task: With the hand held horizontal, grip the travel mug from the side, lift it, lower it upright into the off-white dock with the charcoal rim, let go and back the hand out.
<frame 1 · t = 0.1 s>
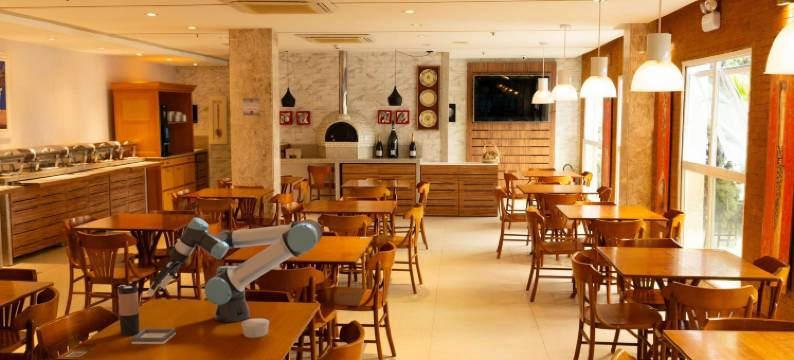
hand: (155, 291, 311), 15 cm above the table, tool tilted 35°, fingers open, 13 cm apart
mug dock: (154, 338, 294), on the table
travel mug: (130, 334, 302), on the table
ramekin: (255, 335, 298), on the table
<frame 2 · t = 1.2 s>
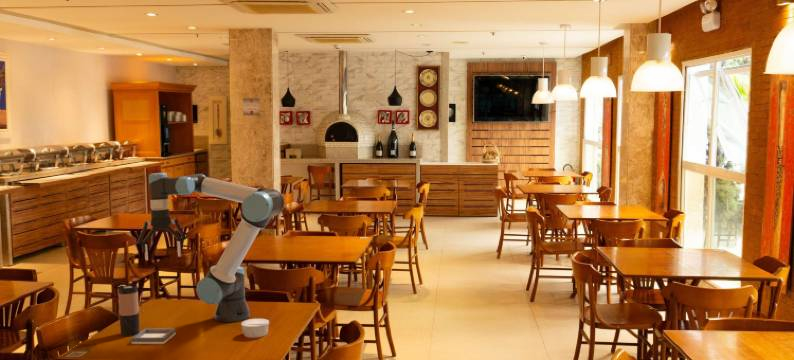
hand: (163, 258, 314), 29 cm above the table, tool pointing down, fingers open, 13 cm apart
nothing on the table moved.
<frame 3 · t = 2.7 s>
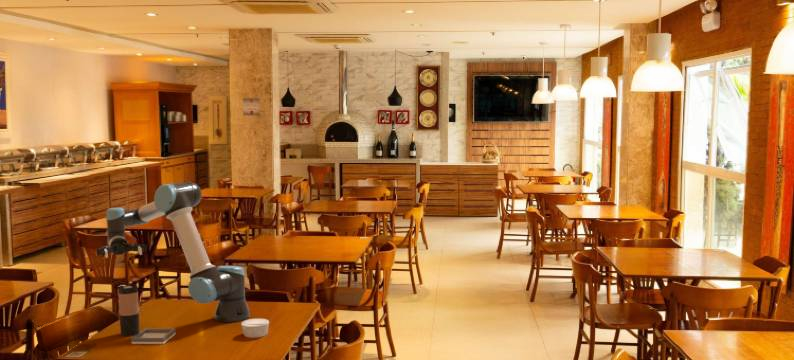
hand: (124, 253, 308), 32 cm above the table, tool horizontal, fingers open, 13 cm apart
nothing on the table moved.
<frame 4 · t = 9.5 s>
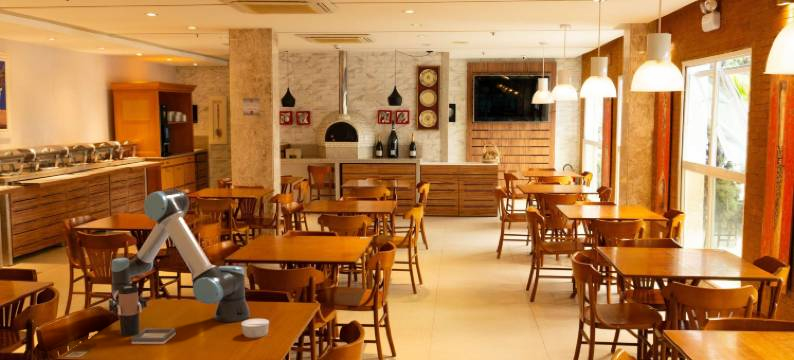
hand: (130, 310, 297), 11 cm above the table, tool horizontal, fingers closed on travel mug, 7 cm apart
travel mug: (130, 334, 302), on the table, touching gripper
everything else where it was.
when the fingers open (13 cm above the table, at t = 16.1 s): travel mug drops 1 cm, resting on mug dock.
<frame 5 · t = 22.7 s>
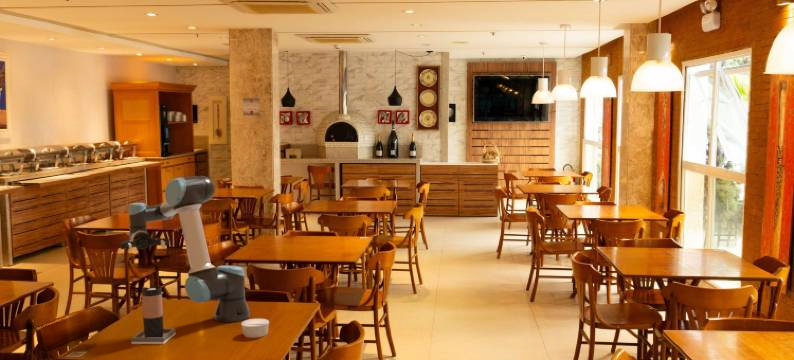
hand: (147, 246, 312), 34 cm above the table, tool horizontal, fingers open, 13 cm apart
travel mug: (154, 337, 294), point 1 cm above the table, touching mug dock
everything else where it was.
at the end: travel mug 0.0 cm off-centre on the mug dock, point 0.6 cm above the mug dock's base; travel mug tilted 0°; the gripper is holding nothing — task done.
